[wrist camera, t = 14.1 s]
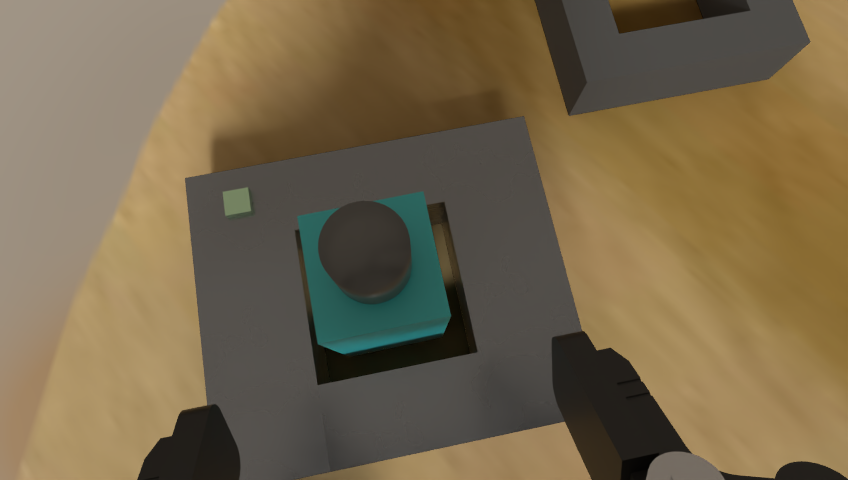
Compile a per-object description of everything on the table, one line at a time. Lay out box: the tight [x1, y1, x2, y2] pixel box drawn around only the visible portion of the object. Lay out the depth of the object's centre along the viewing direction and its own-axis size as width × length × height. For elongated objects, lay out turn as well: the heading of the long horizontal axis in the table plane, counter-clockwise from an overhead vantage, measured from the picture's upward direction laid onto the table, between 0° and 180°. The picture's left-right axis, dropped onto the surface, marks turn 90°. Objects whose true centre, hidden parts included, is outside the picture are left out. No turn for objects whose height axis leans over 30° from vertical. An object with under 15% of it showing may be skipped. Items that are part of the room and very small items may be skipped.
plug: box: [297, 191, 451, 357], centre depth 19 cm, size 4×4×10 cm
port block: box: [185, 116, 582, 480], centre depth 22 cm, size 14×12×3 cm
